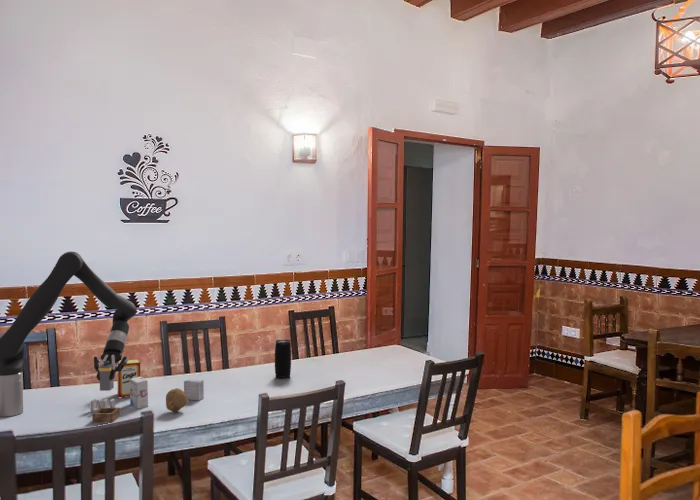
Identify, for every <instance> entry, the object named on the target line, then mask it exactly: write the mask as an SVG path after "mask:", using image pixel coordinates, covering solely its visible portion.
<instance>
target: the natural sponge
mask: <svg viewBox="0 0 700 500" xmlns="http://www.w3.org/2000/svg"><path fill="white" fill-rule="evenodd" d="M188 401H189V400H188V398H187V396H186V394H185V393H184V390H183V389H180V388H178V387H177V388H176V387H175V388H172V389H170V390H169V391H168V392H167V393H166V395H165V406H166V407H165V408H166V409H167V410H168V411H171V412H172V413H176V412H179V411H180V410H181V409H182V408H184V407H186V406H187V405H188Z"/></svg>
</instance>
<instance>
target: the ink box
mask: <svg viewBox="0 0 700 500" xmlns="http://www.w3.org/2000/svg"><path fill="white" fill-rule="evenodd" d="M148 386H149V385H148V379H146V378H144V377H142V376H140V377H136V378H132V379H130V397H129V399H130V400H129V404H130V405H131V406H132V407H135V408H136V409H142V408H146V407H149V389H148Z"/></svg>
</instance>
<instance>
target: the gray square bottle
mask: <svg viewBox="0 0 700 500" xmlns="http://www.w3.org/2000/svg"><path fill="white" fill-rule="evenodd" d="M100 365H101V364H100ZM100 365H99V367H100V368H99V371H100V381H99V391H101V392H102V391H103V392H104V391H106V392H107V391H111V390H113V389H114V388H115V387H114V382H115V378H114V379H112V380H110V379H109V376H110V373H111V370H112V367H113V364H109V361H104V364H102V365H101V366H100Z"/></svg>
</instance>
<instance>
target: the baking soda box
mask: <svg viewBox="0 0 700 500" xmlns="http://www.w3.org/2000/svg"><path fill="white" fill-rule="evenodd" d="M120 362H121V360H120V361H119V362H118V363H117V366H118V365H119V363H120ZM116 374H117V375H116V376H117V397H118V398H119V397H122V398H126V397H125V396H130V379H132V378H136V377H141V361H140V359H130V360H129V359H128V361H127V363H126V364H125V366H124V367H123V369H122V370H121V371H117V372H116Z"/></svg>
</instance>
